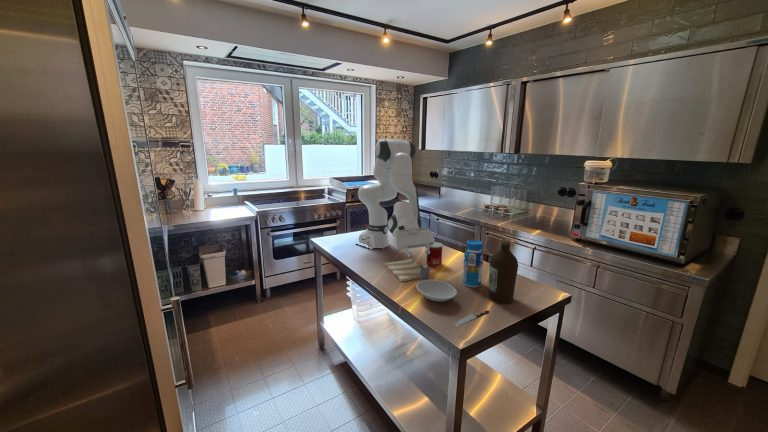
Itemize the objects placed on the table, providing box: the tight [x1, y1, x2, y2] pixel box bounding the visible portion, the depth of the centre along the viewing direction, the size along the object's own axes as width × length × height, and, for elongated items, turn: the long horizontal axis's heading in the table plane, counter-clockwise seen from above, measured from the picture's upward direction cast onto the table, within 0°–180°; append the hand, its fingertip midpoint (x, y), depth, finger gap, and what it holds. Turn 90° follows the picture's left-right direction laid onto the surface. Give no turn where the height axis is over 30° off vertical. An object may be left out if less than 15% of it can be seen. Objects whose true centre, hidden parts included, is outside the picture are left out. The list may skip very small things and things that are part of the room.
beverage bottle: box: [462, 239, 484, 288], centre depth 134 cm, size 8×8×20 cm
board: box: [384, 258, 421, 282], centre depth 150 cm, size 20×15×2 cm
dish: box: [415, 279, 458, 303], centre depth 122 cm, size 18×14×5 cm
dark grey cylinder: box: [419, 264, 430, 281], centre depth 135 cm, size 4×4×9 cm
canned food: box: [426, 241, 443, 268], centre depth 158 cm, size 8×8×11 cm
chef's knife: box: [454, 309, 490, 327], centre depth 110 cm, size 19×1×3 cm
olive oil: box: [488, 239, 519, 305], centre depth 120 cm, size 11×11×25 cm
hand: (419, 255), depth 138 cm, fingers open, 8 cm apart
